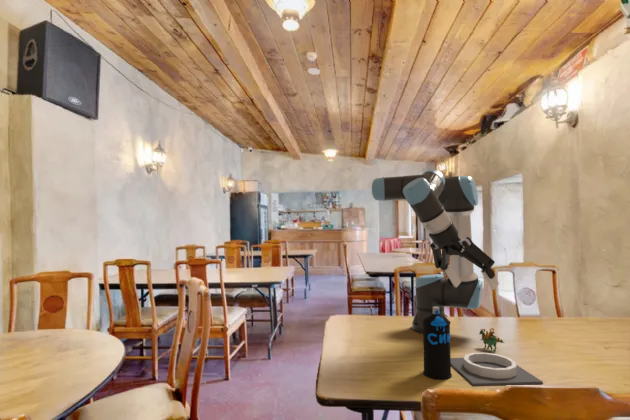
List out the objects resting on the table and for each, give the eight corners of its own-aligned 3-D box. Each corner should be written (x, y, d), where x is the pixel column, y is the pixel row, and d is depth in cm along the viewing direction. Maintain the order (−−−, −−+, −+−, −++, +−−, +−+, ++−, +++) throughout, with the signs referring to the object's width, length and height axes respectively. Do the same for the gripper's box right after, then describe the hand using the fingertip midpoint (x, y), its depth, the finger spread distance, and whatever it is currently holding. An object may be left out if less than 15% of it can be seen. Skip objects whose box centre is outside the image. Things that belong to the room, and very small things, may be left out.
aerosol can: (419, 369, 116) (417, 304, 117) (444, 368, 117) (443, 303, 118) (429, 380, 108) (427, 310, 109) (456, 379, 109) (455, 309, 109)
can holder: (473, 385, 104) (472, 374, 104) (445, 359, 124) (444, 350, 124) (542, 383, 105) (542, 372, 105) (503, 358, 125) (503, 349, 125)
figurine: (483, 345, 139) (482, 323, 139) (508, 356, 127) (507, 331, 128) (476, 346, 138) (475, 323, 138) (501, 357, 126) (500, 332, 127)
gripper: (404, 238, 118) (438, 291, 121) (467, 231, 95) (507, 296, 99) (418, 224, 121) (451, 276, 124) (482, 214, 99) (520, 278, 102)
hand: (475, 285), depth 111 cm, fingers open, 13 cm apart
